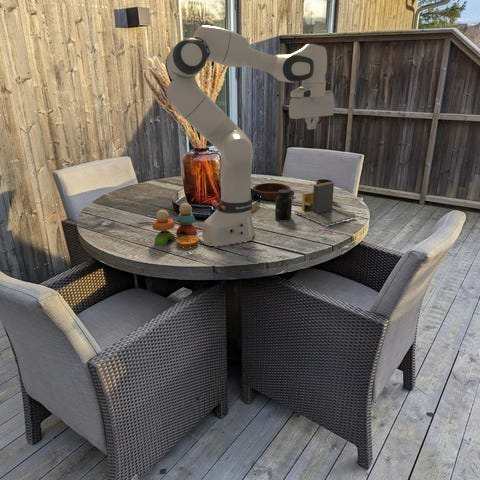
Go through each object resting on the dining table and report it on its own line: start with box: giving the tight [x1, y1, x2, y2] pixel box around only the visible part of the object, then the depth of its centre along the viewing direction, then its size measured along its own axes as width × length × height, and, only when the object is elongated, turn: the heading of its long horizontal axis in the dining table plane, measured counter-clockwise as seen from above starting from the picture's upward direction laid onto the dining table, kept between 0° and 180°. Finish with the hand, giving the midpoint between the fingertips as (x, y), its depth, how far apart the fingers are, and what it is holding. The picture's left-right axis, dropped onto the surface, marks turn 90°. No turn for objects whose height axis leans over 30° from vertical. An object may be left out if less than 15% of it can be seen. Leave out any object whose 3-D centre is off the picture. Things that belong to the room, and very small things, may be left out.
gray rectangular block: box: [309, 181, 335, 214], centre depth 188 cm, size 9×6×12 cm
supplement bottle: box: [274, 190, 293, 221], centre depth 184 cm, size 7×7×12 cm
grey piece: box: [294, 191, 356, 225], centre depth 186 cm, size 16×20×8 cm
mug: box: [315, 178, 333, 185], centre depth 205 cm, size 12×8×9 cm, turn 2°
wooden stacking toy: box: [152, 202, 199, 249], centre depth 164 cm, size 18×17×12 cm
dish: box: [252, 182, 295, 201], centre depth 214 cm, size 18×22×5 cm
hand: (311, 129), depth 170 cm, fingers closed
